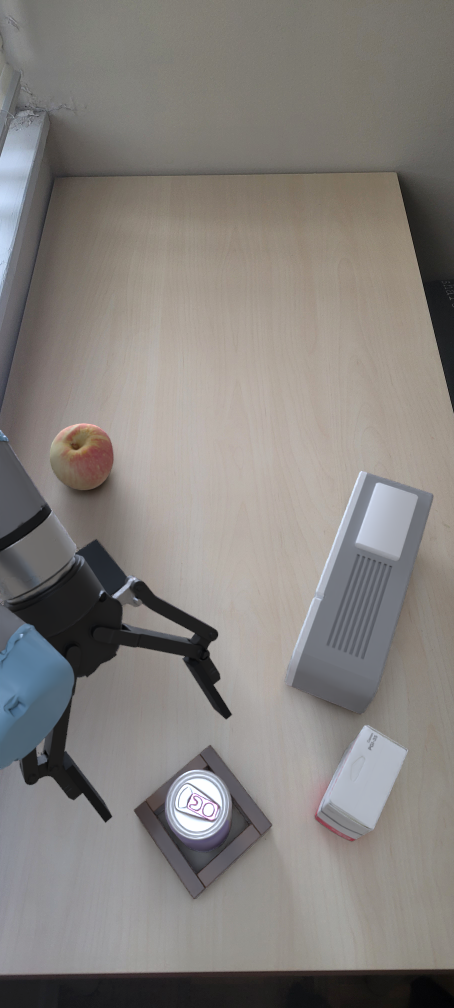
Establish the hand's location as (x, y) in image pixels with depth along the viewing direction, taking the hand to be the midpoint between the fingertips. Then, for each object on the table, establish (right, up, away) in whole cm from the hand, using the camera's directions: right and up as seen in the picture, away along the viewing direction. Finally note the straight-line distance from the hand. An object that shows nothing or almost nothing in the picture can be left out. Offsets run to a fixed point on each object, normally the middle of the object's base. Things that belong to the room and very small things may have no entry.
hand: (166, 760), depth 59 cm
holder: (+3, -10, +10) cm, 14 cm away
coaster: (-13, +14, +25) cm, 31 cm away
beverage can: (+3, -10, +10) cm, 15 cm away
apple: (-15, +28, +33) cm, 46 cm away
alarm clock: (+22, +11, +23) cm, 33 cm away
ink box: (+19, -8, +11) cm, 23 cm away
